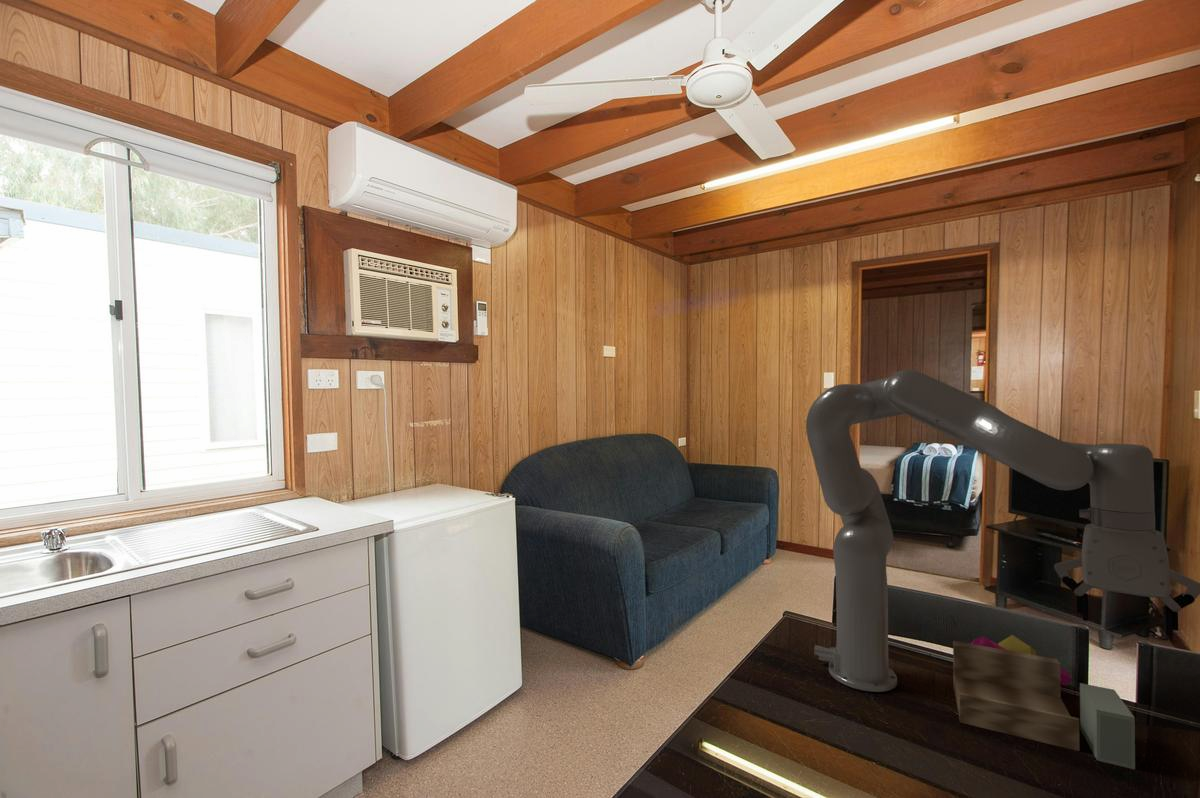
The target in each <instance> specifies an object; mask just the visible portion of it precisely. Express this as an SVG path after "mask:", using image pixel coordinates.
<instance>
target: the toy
mask: <svg viewBox="0 0 1200 798" xmlns="http://www.w3.org/2000/svg"><path fill="white" fill-rule="evenodd" d="M969 644H974V645H980V646H985V647H991V648H997V649H1002V650H1008V651H1013V652H1019V653H1024V654H1030V655H1036V656H1037V650H1036V649H1034V648H1032V647H1031V646H1030V645H1028V644H1026V643H1025V642H1024V641H1023V640H1021V639H1019V638H1018V637H1016V636H1015V635H1014V634H1011V635H1009V636H1008V637H1007V638H1004V639H1003V640H1001V641H999V642H998V643H996V642H994V641H992V640H991V639H989V638H988V637H986V636H983V637H982V636H980V637H977V638H975V639H974V640H973V641H972V642H970V643H969ZM1072 681H1073V677H1071V676H1070V674H1069V673H1068V671H1067V670H1066V669H1065V668H1063V667H1061V666H1060V686H1067V685H1069V684H1070V683H1071V682H1072Z"/></svg>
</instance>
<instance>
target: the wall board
mask: <svg viewBox="0 0 1200 798" xmlns="http://www.w3.org/2000/svg"><path fill="white" fill-rule="evenodd" d="M952 647H953V648H952V652H953V653H952V654H953V655H952V657H953V658H952V659H953V660H952V661H953V662H952V663H953V664H952V665H953V666H952V669H953V670H952V671H953V673H952V674H953V675H952V677H953V681H952V682H953V684H952V686H953V691H954V697H955V702H956V706H957V713H958V720H959V723H960V724H964V725H970V726H974V727H977V728H982V729H985V730H989V731H994V732H997V733H998V732H999V733H1002V734H1006V735H1010V736H1014V737H1017V738H1018V737H1019V738H1023V739H1027V740H1031V741H1035V742H1040V743H1044V744H1048V745H1052V746H1056V747H1060V748H1065V749H1069V750H1073V751H1076V752H1077V751H1078V752H1080V718H1078V717H1074V716H1071V715H1070V713H1069V711H1068V709H1067V707H1066V705H1065V703H1064V702H1063V699H1062V697H1061V685H1060V667H1061V663H1060V661H1059V660H1058V659H1057V658H1053V657H1052V658H1051V657H1046V656H1040V655H1037V654H1036V655H1030V654H1024V653H1019V652H1013V651H1008V650H1002V649H997V648H991V647H985V646H980V645H974V644H970V643H968V642H963V641H956V640H953V641H952Z"/></svg>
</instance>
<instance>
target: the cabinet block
mask: <svg viewBox="0 0 1200 798" xmlns="http://www.w3.org/2000/svg"><path fill="white" fill-rule="evenodd" d="M1135 718H1136V717H1135V716H1134V714H1133V713H1132V712H1131V711H1130V708H1129V707H1128V706H1127V705H1126V704H1125V703H1124V701H1123V699H1121V697H1120V695H1119V694H1118V693H1117V691H1116V690H1115V689H1112V688H1106V687H1101V686H1096V685H1091V684H1086V683H1080V682H1079V731H1080V732H1081V734H1082V735H1083V737H1084V738H1085V739H1084V740H1085V741H1086V743H1087V744H1088V747H1089V749H1090V750H1091V752H1092V754H1093V755H1094V758H1095V759H1096V761H1098V762H1099V761H1100V762H1102V763H1106V764H1111V765H1114V766H1120V767H1123V768H1127V769H1131V770H1136V743H1135V741H1136V738H1135V737H1136V735H1135V733H1136V731H1135V730H1136V729H1135V728H1136V725H1135V721H1136V720H1135Z"/></svg>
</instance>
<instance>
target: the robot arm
mask: <svg viewBox="0 0 1200 798" xmlns="http://www.w3.org/2000/svg"><path fill="white" fill-rule="evenodd" d="M901 415H905V416H907V417H909V418H911V419H913V420H915V421H917V422H920V423H921V424H924V426H925V425H926V426H927V427H929V428H931V429H934V430H935V431H938V432H940V433H941V434H943V435H945V436H947V437H949V438H950V439H953V440H954V441H957V442H959V443H961V444H962V445H964V446H965V447H967V448H970V449H972V450H975V451H976V452H979V453H981V454H984V455H985V456H987V457H989V458H992V459H993V460H994V461H997V462H999V463H1001V464H1002V465H1004V466H1007V467H1008V468H1010V469H1012V470H1014V471H1016V472H1018V473H1020V474H1022V475H1024V476H1026V477H1029V478H1030V479H1032V480H1034V481H1036V482H1038V483H1040V484H1042V485H1044V486H1046V487H1048V488H1052V489H1055V490H1059V491H1072V490H1077V489H1080V488H1082V487H1084V486H1085V485H1087V484H1089V497H1090V501H1089V502H1090V507H1088V508H1085V509H1081V508H1080V509H1079V513H1078V514H1079V515H1078V516H1079V518H1083V519H1087V520H1088V521H1090V523H1087V524H1086V525H1085V526H1084V530H1083V535H1082V536H1083V537H1082V544H1081V545H1082V546H1081V556H1080V557H1076V558H1072V559H1069V560H1068V559H1067V560H1065V561H1061V562H1057V563H1055V564H1053V569H1054V570H1055V572H1056V573H1057V575H1058V577H1059V579H1060V580H1061V581H1062V583H1063V584H1064V585H1065V586H1067V588H1069V589H1070V590H1071V591H1072V592H1073V593H1074V594H1075V597H1076V613H1077V614H1081V615H1082V621H1084V622H1087V621H1089V597H1088V593H1087V592H1089V591H1090V590H1092V589H1096V590H1099V591H1100V590H1101V591H1102V590H1103V591H1107V592H1112V593H1113V592H1114V593H1120V594H1127V595H1133V596H1139V597H1146V598H1147V597H1148V598H1154V599H1159V600H1161V601H1162V602H1163V603H1164V605H1162V617H1163V618H1162V622H1163V624H1162V626H1163V632H1164V634H1165V635H1166V636H1167V637H1171V638H1173V636H1174V634H1173V633H1174V632H1173V631H1177V632H1178V631H1179V612H1181V610H1182V609H1184V608H1186V607H1188V606H1190V605H1191V604H1194V603H1195V602H1196V599H1197V598H1198V597H1199V596H1200V582H1198V581H1197V580H1194V579H1192V578H1190V577H1187V576H1186V575H1184V574H1181V573H1179V572H1177V571H1175V570H1173V569H1172V568H1170V561H1169V555H1168V549H1167V546H1166V545H1167V544H1166V540H1165V537H1164V534H1163V532H1161V531H1159V530H1156V512H1155V508H1156V507H1155V505H1156V503H1155V479H1154V477H1155V476H1154V475H1155V473H1154V470H1155V469H1154V454H1153V452H1152V450H1151V449H1150V448H1148V447H1147V446H1144V445H1141V444H1132V443H1130V444H1129V443H1100V444H1099V443H1098V444H1087V443H1079V442H1070V441H1063V440H1061V439H1059V438H1057V437H1054V436H1052V435H1050V434H1048V433H1046V432H1044V431H1041V430H1039V429H1036V428H1035V427H1032V426H1030V425H1028V424H1026V423H1024V422H1022V421H1020V420H1018V419H1016V418H1015V417H1013V416H1010V415H1009V414H1007V413H1006V412H1003V411H1002V410H1000V409H999V408H998V407H996V406H994V405H993V404H991V403H989V402H987V401H985V400H983V399H980V398H978V397H976V396H974V395H971V394H970V393H966V392H964V391H962V390H960V389H958V388H956V387H954V386H952V385H949V384H947V383H945V382H943V381H940V380H939V379H936V378H934V377H932V376H929V375H927V374H925V373H923V372H920V371H918V370H915V369H902V370H900V371H897V372H895V373H893V374H892V375H891V376H888V377H884V378H880V379H876V380H871V381H866V382H861V383H858V384H849V383H844V384H843V383H842V384H836V385H834V386H832V387H829V388H828V389H826V390H825V391H823V392H822V393H820V395H819V396H818V397H817V398H815V400H814V401H813V403H812V405H811V406H810V408H809V409H808V412H807V415H806V419H805V420H806V422H805V431H806V437H807V441H808V445H809V448H810V452H811V454H812V459H813V463H814V467H815V469H816V473H817V477H818V478H817V479H818V480H819V484H820V487H821V488H820V489H821V492H822V495H823V500H824V502H825V504H826V506H827V507H828V508H829V509H830V511H832V512H833V513H834V514H836V515H839V516H840V519H841V524H842V527H841V528H840V529H839V530H838V531H837V533H836V536H835V538H834V542H833V549H832V551H833V563H834V569H835V571H834V573H835V597H836V598H835V599H836V644H835V647H833V646H830V647H829V648H828V647H824V646H822V645H817V644H814V648H813V652H814V653H813V654H814V655H815V656H818V660H819V661H824V662H829V663H828V672H829V674H830V676H832V678H833V679H835V680H836V681H837V682H839V683H841V684H843V685H845V686H847V687H850V688H852V689H856V690H860V691H864V692H870V693H883V692H888V691H892V690H893V689H895V688H896V687H897V686H898V676H897V675H896V673H895V672H894V670H893V669H891V668H890V667H889V602H888V598H889V597H888V595H889V594H888V590H889V589H888V574H887V560H888V559H887V558H888V555H889V553H890V551H891V549H892V548H893V544H894V534H893V533H894V532H893V529H892V525H891V522H890V519H889V515H888V512H887V509H886V506H885V502H884V499H883V497H882V494H881V493H882V492H881V490H880V486H879V485H878V482H877V480H876V479H875V478H874V476H873V475H872V474H871V472H869V471H868V470H866V469H865V468H863V467H862V466H861V464H860V461H859V457H858V454H857V450H856V448H855V444H854V442H853V440H852V439H853V438H852V437H851V434H850V431H851V426H852V425H857V424H861V423H866V422H871V421H877V420H881V419H887V418H892V417H897V416H901ZM1078 568H1081V577H1082V579H1081V580H1080V581H1079V582H1077V581H1076V580H1075V579H1073V577H1072V576H1070V575H1069V572H1068V571H1070V570H1073V569H1078ZM1171 580H1172V581H1173V582H1176V583H1177V584H1180V585H1182V586H1184V587H1185V588H1186V589H1185V590H1184V592H1182V593H1181V594H1179V595H1176V596H1175V597H1173V595H1171V588H1172V587H1171Z"/></svg>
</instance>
